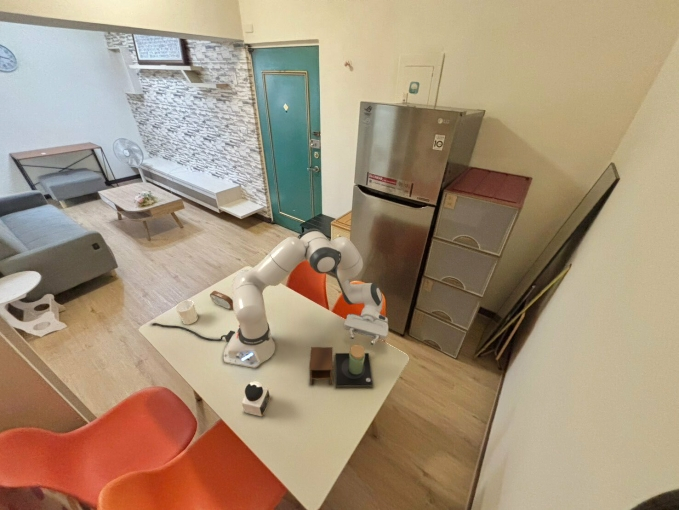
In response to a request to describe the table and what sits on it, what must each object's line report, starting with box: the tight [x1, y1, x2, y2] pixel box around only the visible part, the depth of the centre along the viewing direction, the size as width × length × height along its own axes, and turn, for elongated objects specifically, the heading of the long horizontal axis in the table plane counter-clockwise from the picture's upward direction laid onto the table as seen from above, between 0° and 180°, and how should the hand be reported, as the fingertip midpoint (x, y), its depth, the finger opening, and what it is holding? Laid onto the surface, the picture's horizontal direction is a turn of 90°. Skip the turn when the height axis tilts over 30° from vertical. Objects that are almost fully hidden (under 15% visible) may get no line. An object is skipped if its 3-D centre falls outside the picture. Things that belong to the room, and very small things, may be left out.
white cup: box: [175, 299, 199, 325], centre depth 132 cm, size 8×8×10 cm
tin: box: [209, 290, 233, 310], centre depth 141 cm, size 15×3×8 cm, turn 65°
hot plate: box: [334, 352, 374, 389], centre depth 113 cm, size 15×15×3 cm
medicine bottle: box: [241, 380, 271, 417], centre depth 98 cm, size 7×7×12 cm
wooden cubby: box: [308, 346, 334, 385], centre depth 110 cm, size 9×10×11 cm
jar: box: [348, 344, 366, 374], centre depth 110 cm, size 6×6×11 cm
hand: (362, 341), depth 115 cm, fingers open, 8 cm apart
